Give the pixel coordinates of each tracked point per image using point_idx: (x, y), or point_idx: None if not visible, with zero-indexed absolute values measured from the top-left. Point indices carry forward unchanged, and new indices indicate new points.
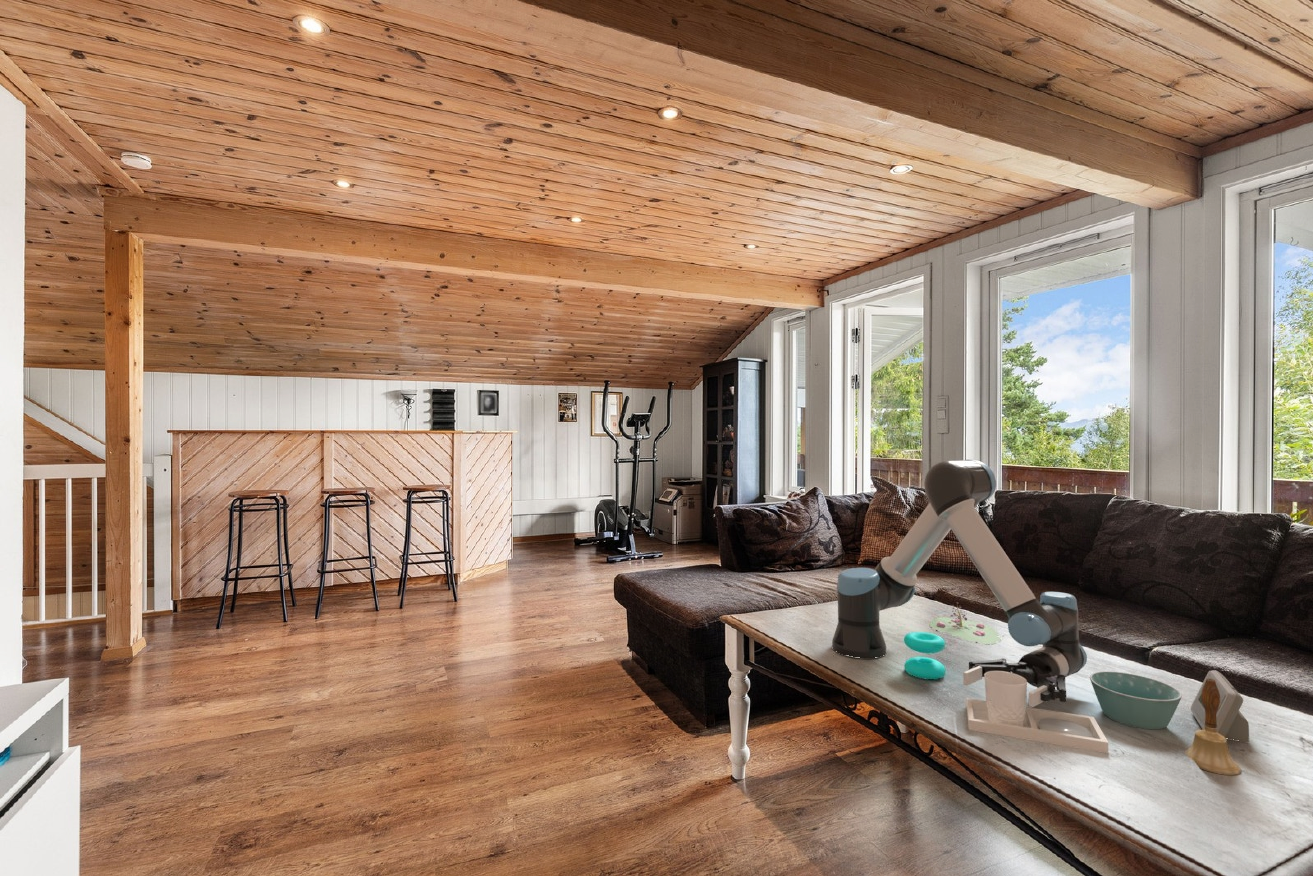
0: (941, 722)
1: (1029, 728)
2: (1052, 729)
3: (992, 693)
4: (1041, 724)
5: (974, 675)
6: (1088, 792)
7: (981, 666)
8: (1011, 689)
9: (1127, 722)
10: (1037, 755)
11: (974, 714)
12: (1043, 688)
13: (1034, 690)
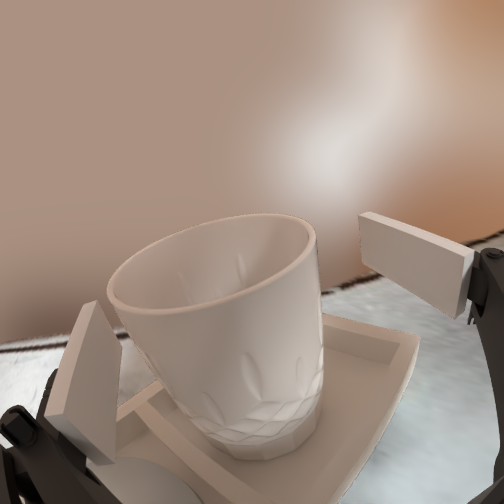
0: (340, 303)
1: (150, 393)
2: (130, 482)
3: (225, 270)
4: (172, 485)
5: (402, 256)
6: (46, 368)
7: (485, 263)
8: (150, 265)
9: None
10: (130, 393)
11: (354, 361)
12: (56, 376)
13: (83, 325)
